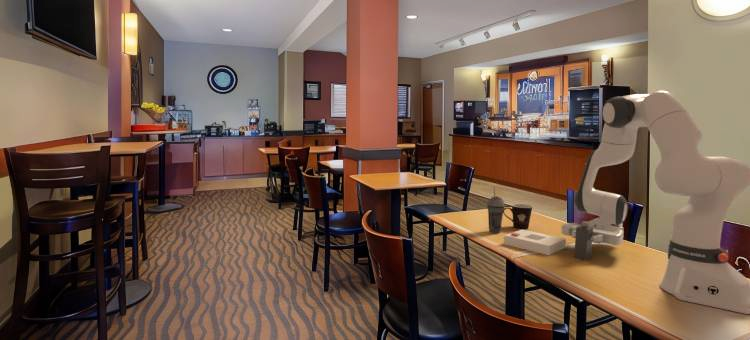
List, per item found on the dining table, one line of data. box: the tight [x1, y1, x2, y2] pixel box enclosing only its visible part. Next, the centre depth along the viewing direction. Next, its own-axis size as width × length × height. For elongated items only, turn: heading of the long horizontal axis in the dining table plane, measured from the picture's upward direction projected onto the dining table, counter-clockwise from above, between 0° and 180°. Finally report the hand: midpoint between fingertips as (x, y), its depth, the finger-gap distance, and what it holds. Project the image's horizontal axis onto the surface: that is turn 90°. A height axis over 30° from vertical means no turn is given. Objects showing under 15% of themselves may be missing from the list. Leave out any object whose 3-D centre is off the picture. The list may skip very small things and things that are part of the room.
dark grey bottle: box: [573, 220, 593, 261], centre depth 153 cm, size 4×4×13 cm
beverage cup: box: [486, 185, 506, 234], centre depth 185 cm, size 7×7×20 cm
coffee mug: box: [503, 203, 533, 230], centre depth 195 cm, size 12×9×10 cm
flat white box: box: [503, 229, 567, 256], centre depth 166 cm, size 18×14×4 cm
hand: (583, 237), depth 152 cm, fingers open, 5 cm apart
